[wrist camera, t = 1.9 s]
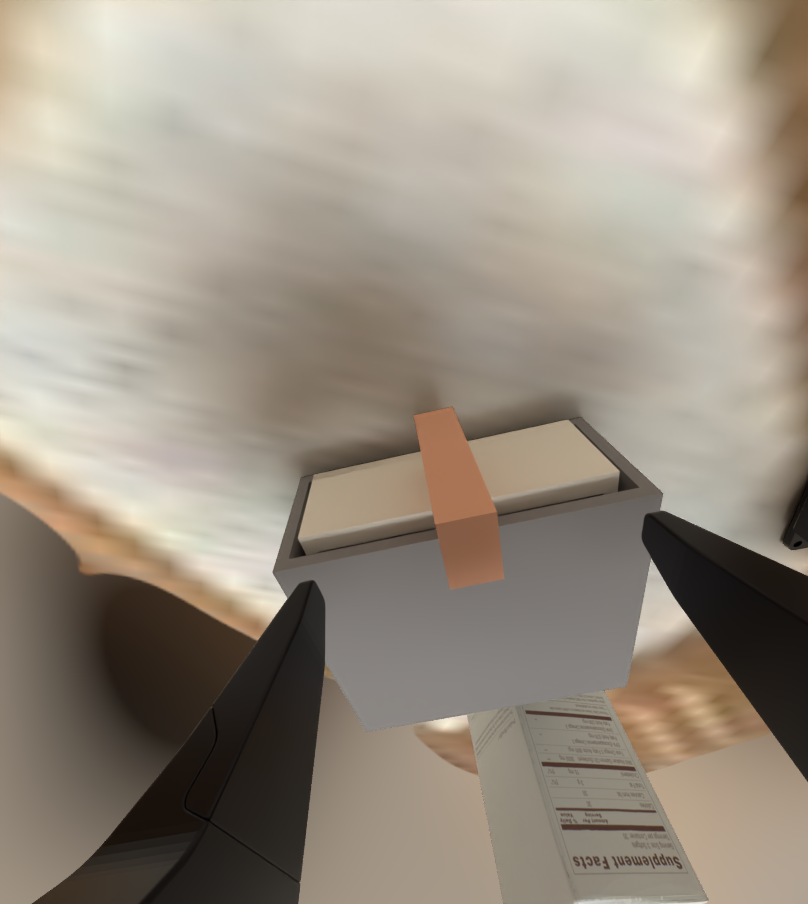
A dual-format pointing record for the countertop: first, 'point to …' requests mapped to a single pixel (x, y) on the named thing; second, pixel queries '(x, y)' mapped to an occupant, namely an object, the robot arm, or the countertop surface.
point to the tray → (406, 496)
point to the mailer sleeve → (484, 608)
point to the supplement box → (575, 808)
